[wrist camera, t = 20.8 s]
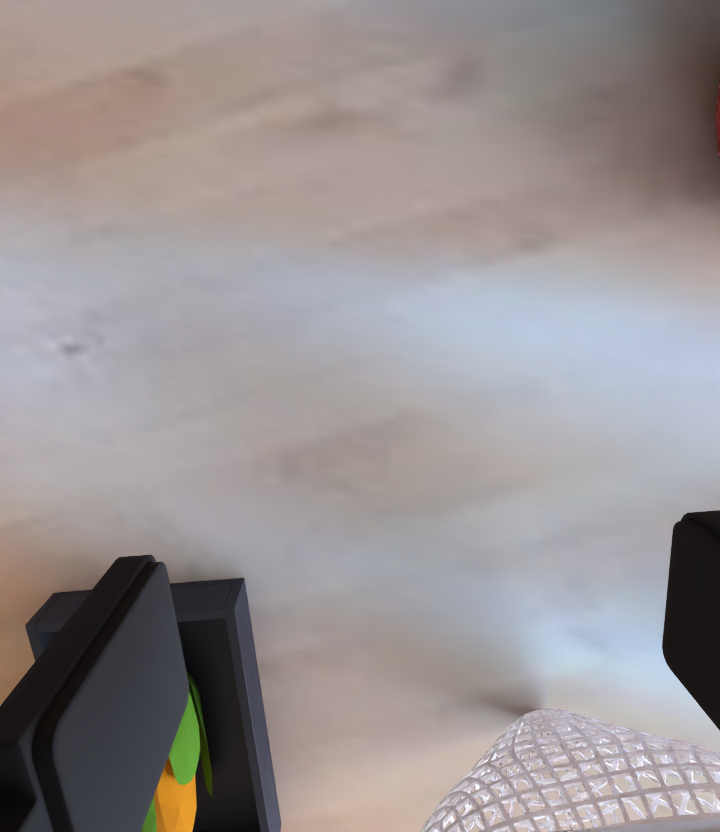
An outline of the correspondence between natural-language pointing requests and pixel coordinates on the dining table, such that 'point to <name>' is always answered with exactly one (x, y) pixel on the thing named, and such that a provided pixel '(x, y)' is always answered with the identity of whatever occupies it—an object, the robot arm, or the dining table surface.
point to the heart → (604, 730)
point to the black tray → (210, 698)
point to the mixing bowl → (718, 120)
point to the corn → (181, 773)
